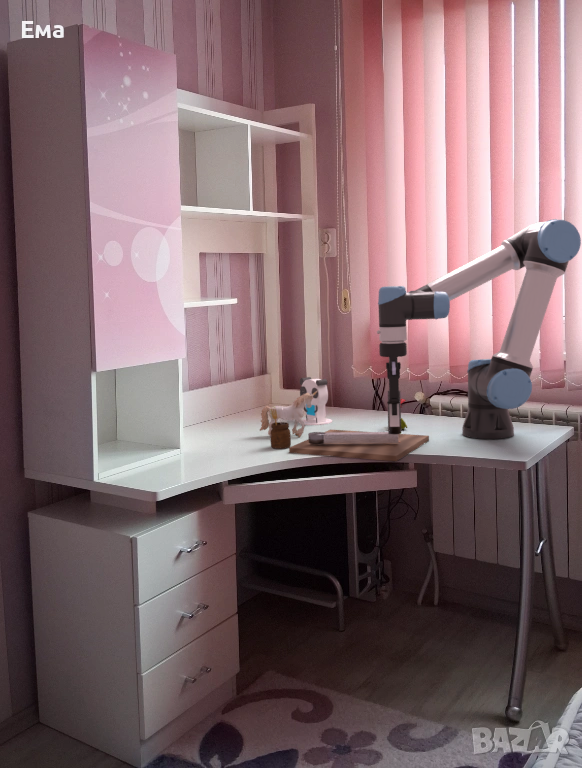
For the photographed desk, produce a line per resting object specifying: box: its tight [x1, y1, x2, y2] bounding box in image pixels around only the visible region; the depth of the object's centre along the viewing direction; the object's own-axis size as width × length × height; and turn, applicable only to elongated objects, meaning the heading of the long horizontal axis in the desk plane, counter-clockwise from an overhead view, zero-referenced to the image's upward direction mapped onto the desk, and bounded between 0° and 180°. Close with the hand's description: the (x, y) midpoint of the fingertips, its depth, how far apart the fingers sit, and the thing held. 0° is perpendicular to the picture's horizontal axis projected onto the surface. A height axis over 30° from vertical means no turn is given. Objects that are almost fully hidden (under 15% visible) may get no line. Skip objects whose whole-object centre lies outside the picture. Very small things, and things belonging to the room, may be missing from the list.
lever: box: [307, 389, 402, 444], centre depth 226 cm, size 26×5×14 cm, turn 82°
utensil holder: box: [269, 408, 292, 450], centre depth 233 cm, size 6×6×12 cm
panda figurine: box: [299, 376, 333, 426], centre depth 272 cm, size 12×11×15 cm
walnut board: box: [288, 429, 430, 462], centre depth 231 cm, size 32×28×2 cm
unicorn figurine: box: [259, 391, 318, 438], centre depth 249 cm, size 7×20×13 cm, turn 101°
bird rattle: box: [401, 398, 408, 430], centre depth 256 cm, size 6×11×9 cm
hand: (394, 424), depth 224 cm, fingers closed on lever, 4 cm apart
